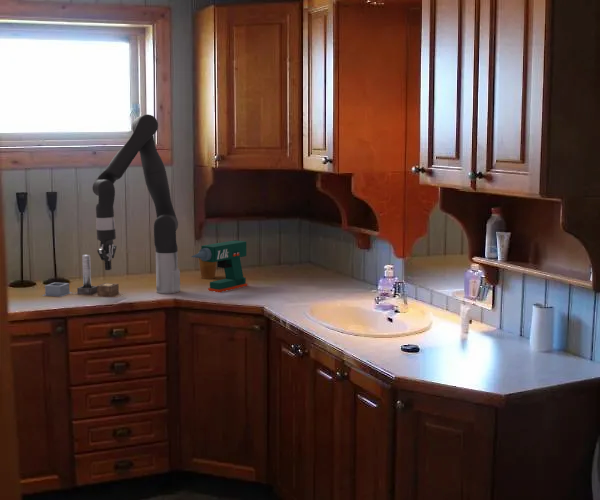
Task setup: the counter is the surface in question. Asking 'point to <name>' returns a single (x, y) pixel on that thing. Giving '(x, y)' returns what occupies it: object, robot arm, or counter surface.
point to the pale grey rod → (86, 271)
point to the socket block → (100, 290)
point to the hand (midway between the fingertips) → (108, 269)
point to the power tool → (225, 263)
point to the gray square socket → (57, 289)
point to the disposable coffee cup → (207, 269)
